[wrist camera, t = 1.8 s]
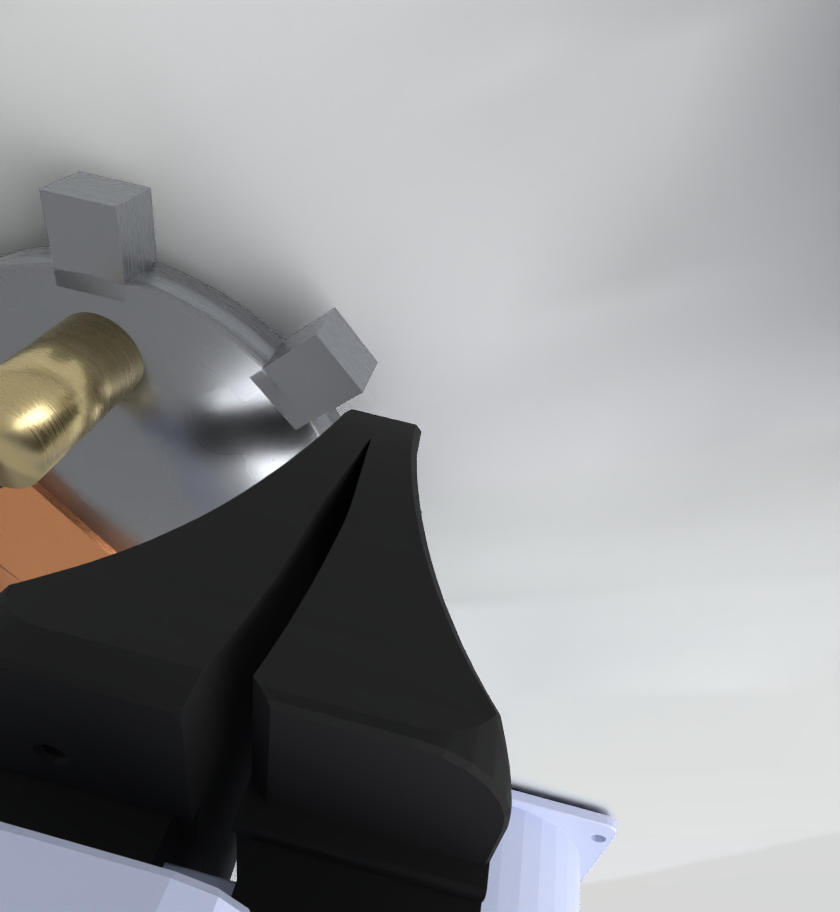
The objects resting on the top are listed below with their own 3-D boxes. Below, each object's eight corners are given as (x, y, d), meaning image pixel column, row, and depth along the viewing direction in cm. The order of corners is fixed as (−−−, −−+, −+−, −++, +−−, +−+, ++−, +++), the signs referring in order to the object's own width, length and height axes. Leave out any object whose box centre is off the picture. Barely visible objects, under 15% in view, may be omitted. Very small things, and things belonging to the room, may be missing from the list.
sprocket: (382, 694, 21) (342, 844, 17) (-43, 581, 22) (-163, 702, 18) (475, 261, 12) (433, 382, 9) (-225, 102, 13) (-516, 156, 10)
